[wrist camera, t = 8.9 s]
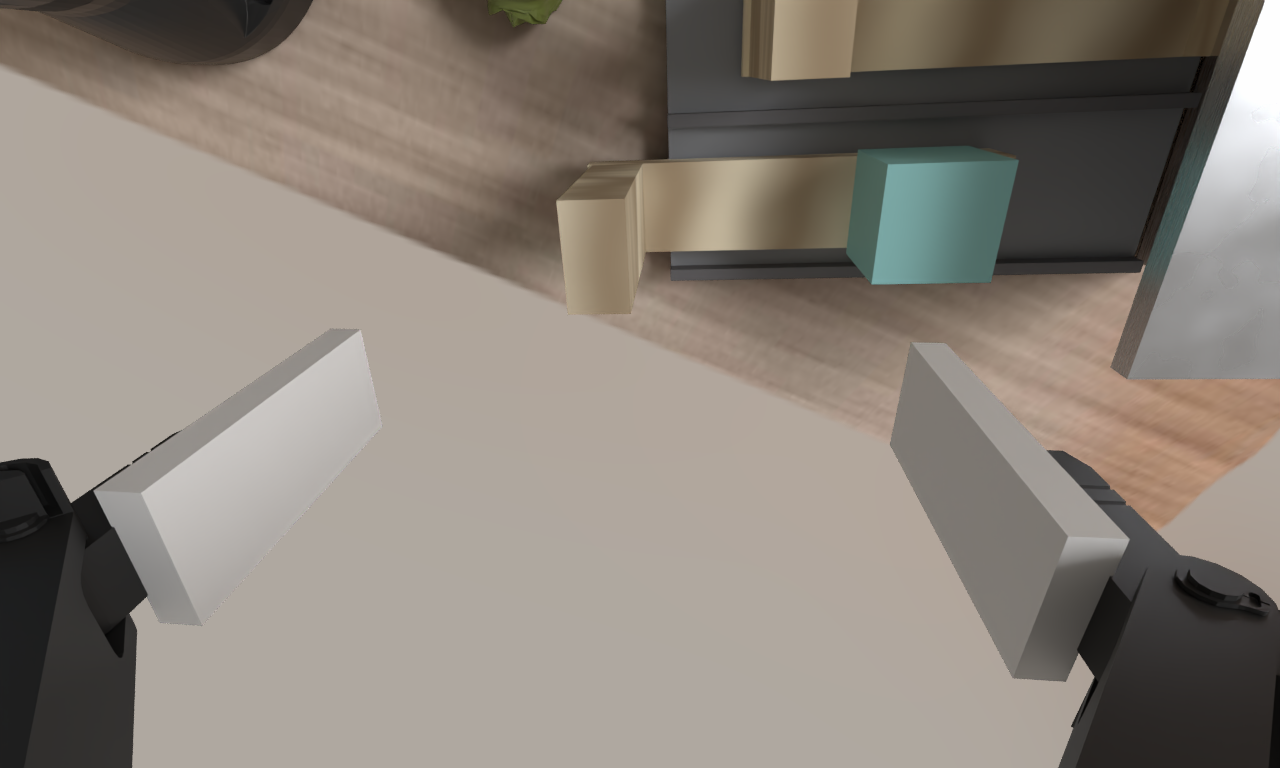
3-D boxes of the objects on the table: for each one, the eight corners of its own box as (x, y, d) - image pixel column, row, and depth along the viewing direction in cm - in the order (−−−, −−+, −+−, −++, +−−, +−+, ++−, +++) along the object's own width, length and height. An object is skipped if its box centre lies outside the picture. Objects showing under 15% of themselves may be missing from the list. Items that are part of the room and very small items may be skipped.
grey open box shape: (978, 272, 34) (1127, 379, 22) (1067, -130, 26) (1370, -289, 14) (1152, 269, 33) (1398, 378, 21) (1299, -147, 25) (1819, -329, 13)
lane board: (671, 269, 35) (670, 280, 33) (665, -74, 28) (663, -83, 26) (1116, 261, 33) (1140, 272, 31) (1236, -112, 26) (1277, -126, 24)
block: (846, 253, 31) (871, 284, 27) (857, 149, 29) (887, 164, 24) (947, 251, 31) (990, 282, 26) (968, 145, 28) (1019, 160, 24)
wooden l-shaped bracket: (597, 247, 33) (561, 314, 24) (590, 162, 31) (549, 200, 22) (970, 238, 32) (1081, 308, 22) (989, 148, 29) (1119, 184, 20)
